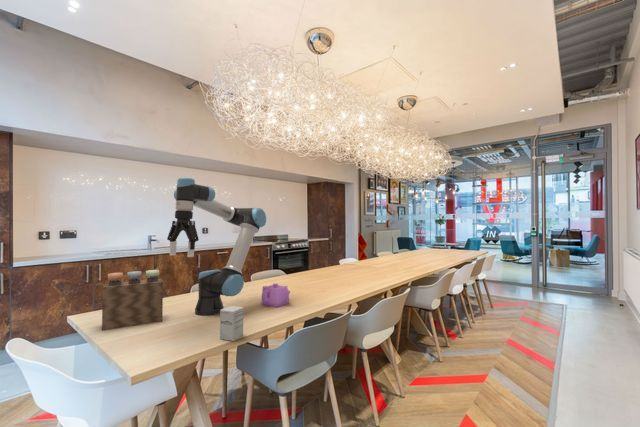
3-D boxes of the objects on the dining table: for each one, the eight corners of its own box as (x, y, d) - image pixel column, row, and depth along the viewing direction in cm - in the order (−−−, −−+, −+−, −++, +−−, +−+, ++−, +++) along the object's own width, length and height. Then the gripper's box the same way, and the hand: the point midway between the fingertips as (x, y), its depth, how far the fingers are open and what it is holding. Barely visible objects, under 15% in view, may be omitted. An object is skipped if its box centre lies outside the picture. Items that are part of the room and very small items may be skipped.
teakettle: (261, 301, 189) (261, 281, 190) (288, 299, 192) (288, 280, 193) (261, 308, 172) (261, 287, 173) (290, 307, 176) (290, 286, 176)
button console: (101, 330, 138) (102, 284, 139) (104, 324, 147) (105, 280, 147) (162, 321, 151) (162, 278, 152) (161, 315, 160) (161, 275, 160)
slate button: (127, 281, 145) (127, 273, 146) (127, 279, 151) (127, 271, 151) (141, 280, 148) (141, 272, 149) (141, 278, 154) (141, 270, 154)
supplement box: (219, 339, 127) (219, 309, 128) (230, 333, 134) (230, 305, 134) (233, 341, 124) (233, 311, 125) (243, 335, 131) (244, 306, 132)
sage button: (145, 279, 149) (146, 272, 150) (145, 277, 155) (145, 270, 155) (159, 278, 153) (159, 270, 153) (158, 276, 158) (159, 269, 158)
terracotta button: (107, 283, 141) (107, 275, 141) (108, 281, 146) (108, 273, 147) (122, 281, 144) (122, 273, 144) (122, 279, 150) (123, 272, 150)
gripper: (161, 210, 142) (158, 255, 140) (193, 208, 129) (191, 258, 127) (175, 211, 148) (172, 254, 146) (208, 210, 135) (205, 257, 134)
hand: (181, 256), depth 137 cm, fingers open, 13 cm apart
